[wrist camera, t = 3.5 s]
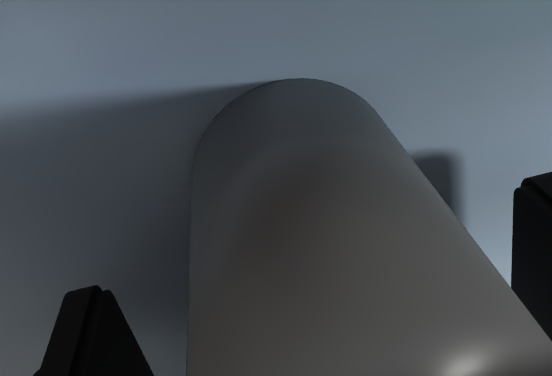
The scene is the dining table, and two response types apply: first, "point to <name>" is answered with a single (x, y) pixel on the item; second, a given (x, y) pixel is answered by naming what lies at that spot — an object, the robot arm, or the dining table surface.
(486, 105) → the dining table surface
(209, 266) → the plug
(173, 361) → the dining table surface
